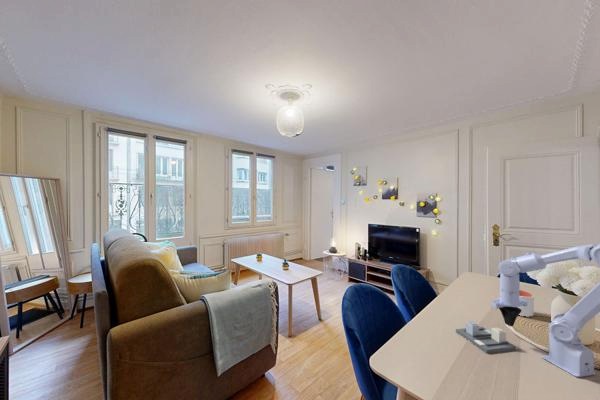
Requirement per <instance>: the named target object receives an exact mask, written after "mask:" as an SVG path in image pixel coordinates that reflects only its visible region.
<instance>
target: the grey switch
mask: <svg viewBox="0 0 600 400" xmlns="http://www.w3.org/2000/svg"><path fill="white" fill-rule="evenodd" d="M479 327H480V325H479V324H478V323H476V322H474V321H466V322H465V328H466V332H467V333H469V334H470V335H472V336H474V335H479Z"/></svg>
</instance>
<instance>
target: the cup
mask: <svg viewBox="0 0 600 400" xmlns="http://www.w3.org/2000/svg"><path fill="white" fill-rule="evenodd" d="M519 299H522V300H525V301H527V306H520V307H517V308H520V309H521V313H520V314H519V315H520V317H523V316H526V317H525V318H530V316H531V317H533V316H534V315H535V314H534V313H535V312H534V311H535V310H534V309H535V308H534V307H535V297H534V294H532V293H530V292H528V291H525V290H520V291H519Z"/></svg>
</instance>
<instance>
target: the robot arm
mask: <svg viewBox="0 0 600 400" xmlns="http://www.w3.org/2000/svg"><path fill="white" fill-rule="evenodd" d="M571 260H581V261H586V262H591V261H592V260H593V261H594V262H595V263H596V264H597V265H598V266H600V242H599V243H597V244H595V243H589V244H583V245H577V246H573V247H569V248H565V249H562V250H561V249H560V250H558V251H557V250H556V251H554V252H550V253H546V254H543V255H542V254H539V253H535V252H534V253H532V252H526V253H525V255H521V256H517V257H515V256H513V257H510V259H509V258H508V259H505V260H502V261H500V262H499V264H498V266H497V268H498V271H499V272H500V273H499V274H500V275H499V276H500V277H499V296H498V297H497V299H496V300H495V301H491V302H490V304H491V306H490V307H491V308H493V309H494V310H498V309H499V310H500V313H501V315H502V318H503V321H504V324H505V325H507V326H509V327H514V325H515V322H516V320H517V318H518V317H519V316H518V315H519V314H520V313H521V309H520V308H517V307H520V306H527V301H525V300H522V299H519V291H520V289H521V287H520V286H521V285H520V284H521V283H520V273H522V274H524V273H525V274H526V273H529V272H534V271H540V270H541V271H542V270H545V269H546V267H547V265H551V264H555V263H561V262H567V261H571ZM599 313H600V281H599V282H598V283H596V285H595V286H593V287H592V288H591V289H590V290H589V291H588V292H587V293H585V295H584V296H583V297H581V298H580V299H579V300H578V301H577V302H576V303H575V304H574V305H573V306H571V308H569V309H567V310H566V311H565V312H564V313H560V314H556V315H555V316H554V317H553V320H552V322H550V323H549V324H548V354H545V355H541V358H542V359H544V360H546V361H547V362H549V363H550V364H553V365H554V366H556V367H558V368H560V369H561V370H563V371H565V372H566V373H568V374H570V375H572V376H574V377H576V378H582V377H588V376H595V375H597V373H596V372H595V354H594V352H593V350H591V349H590V348H588V347H587V346H586V345H584V344H583V343H582V340H581V339H580V337H579V336H578V335H579V333H580V332H581V330H582V329H583V328H584V327H585V325H586V324H587V323H588V322H589V321H591V320H592V319H593V318H594V317H596V316H597V315H598V314H599Z"/></svg>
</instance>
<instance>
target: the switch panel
mask: <svg viewBox="0 0 600 400" xmlns="http://www.w3.org/2000/svg"><path fill="white" fill-rule="evenodd" d="M455 333H457V334H458V335H459V334H460V335H459V336H460V337H462V336H463V338H464V339H465V338H466V339H465V340H466V341H468V340H469V341H470V342H469V341H468V342H469V343H471V342H472V343H473V345H474V346H475V345H476V346H475V347H476V348H478V349H479V350H481V351H482V352H483V353H485V354H491V353H499V352H509V351H514V350H515V351H516V350H517V346H516V345H515V344H513V343H511V342H509V341H508V340H506V342H501V343H498V342H497V341H495V340H493V339H492V338H491V330H490V329H487V328H485V327H484V326H479V335H474V336H472V335H470V334H469V333H467V332H466V327H465V328H456V329H455ZM472 343H471V344H472Z"/></svg>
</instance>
